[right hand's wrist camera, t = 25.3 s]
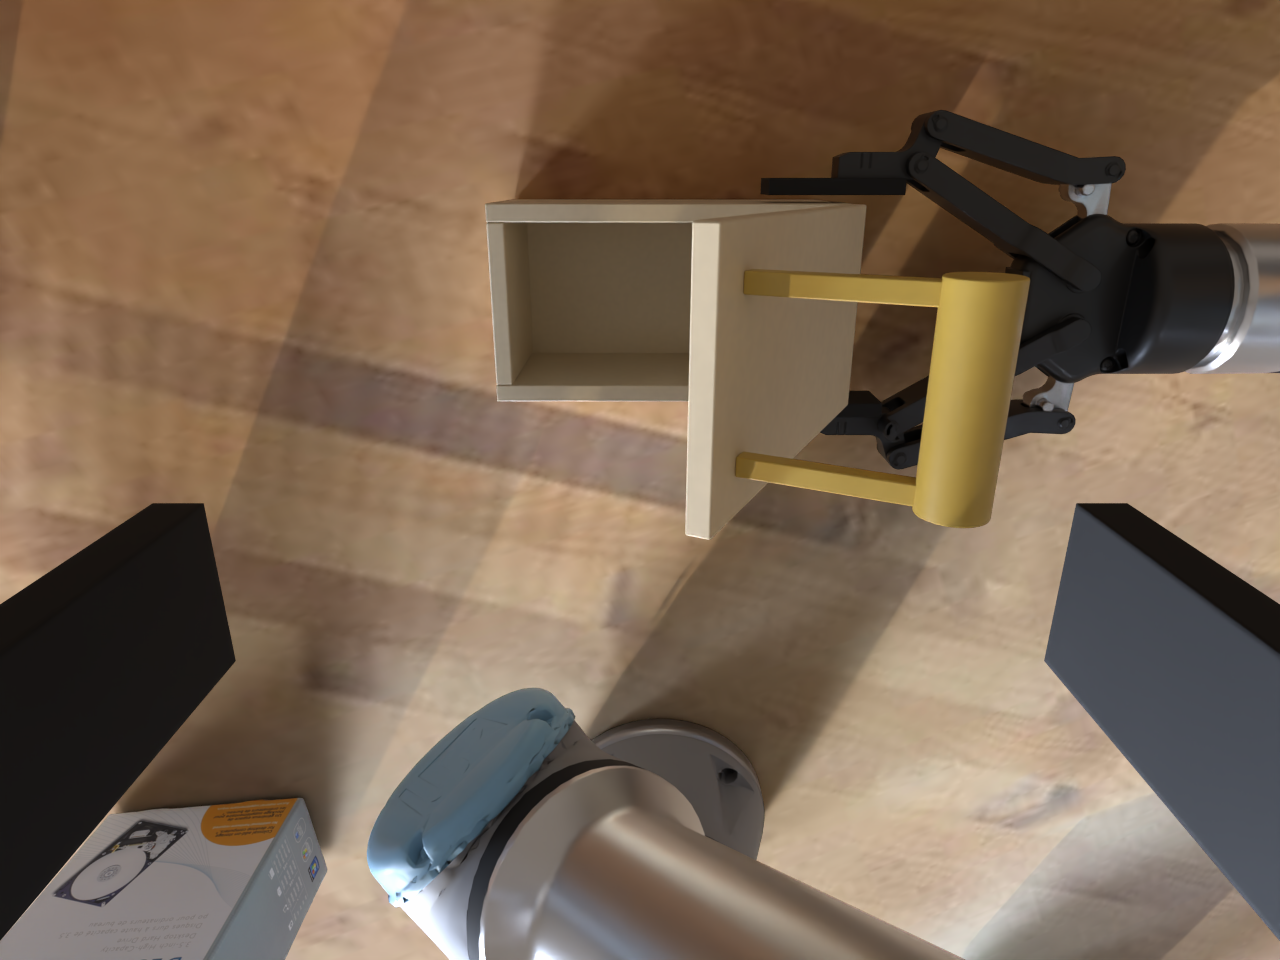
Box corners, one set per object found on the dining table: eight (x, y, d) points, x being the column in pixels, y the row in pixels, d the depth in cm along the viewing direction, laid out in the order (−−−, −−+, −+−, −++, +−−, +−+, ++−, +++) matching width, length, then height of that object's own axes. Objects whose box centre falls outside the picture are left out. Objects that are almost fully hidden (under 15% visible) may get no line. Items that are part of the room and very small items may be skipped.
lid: (684, 535, 25) (975, 595, 22) (691, 220, 22) (1036, 228, 18) (830, 403, 40) (1016, 425, 37) (847, 204, 37) (1053, 206, 33)
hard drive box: (305, 791, 60) (154, 1067, 41) (331, 869, 63) (200, 1161, 44) (104, 811, 61) (-134, 1091, 42) (138, 887, 63) (-71, 1183, 45)
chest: (521, 363, 49) (497, 401, 41) (513, 199, 46) (484, 203, 37) (803, 364, 49) (837, 401, 41) (815, 199, 46) (854, 203, 37)
